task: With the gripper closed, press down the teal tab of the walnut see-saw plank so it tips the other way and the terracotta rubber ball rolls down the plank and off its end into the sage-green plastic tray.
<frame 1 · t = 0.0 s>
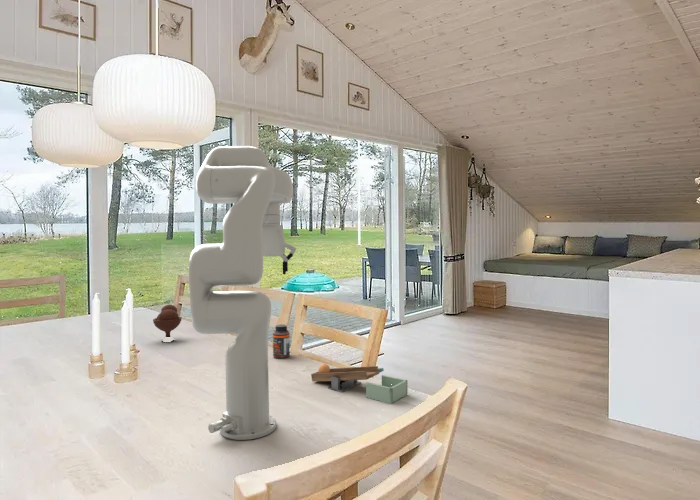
hand: (269, 274, 151), 31 cm above the table, tool pointing down, fingers open, 9 cm apart
ice cream bowl: (168, 341, 195), on the table
tray: (387, 396, 128), on the table
lever: (347, 372, 138), point 3 cm above the table, hinge at -12.0°, touching ball
fulcrum: (344, 385, 136), on the table
ball: (324, 369, 141), point 3 cm above the table, tilted 5°, touching lever
supplement bottle: (281, 357, 169), on the table
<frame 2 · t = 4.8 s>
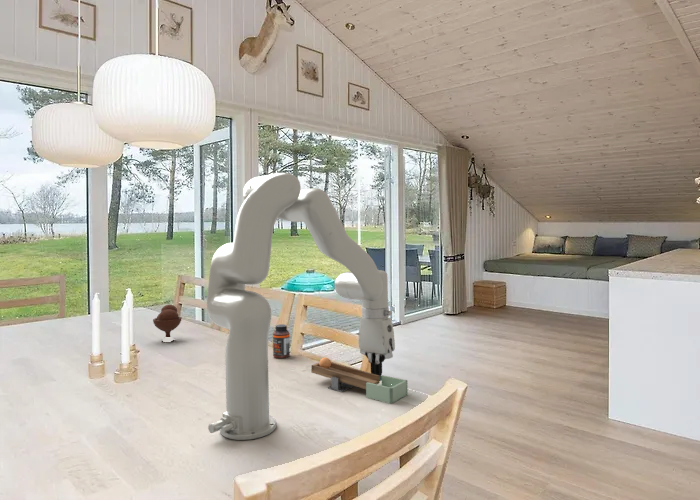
hand: (376, 375, 136), 3 cm above the table, tool pointing down, fingers closed
lever: (348, 372, 138), point 3 cm above the table, hinge at 3.5°, touching ball, gripper
ball: (325, 363, 141), point 5 cm above the table, tilted 12°, touching lever
everything else where it was.
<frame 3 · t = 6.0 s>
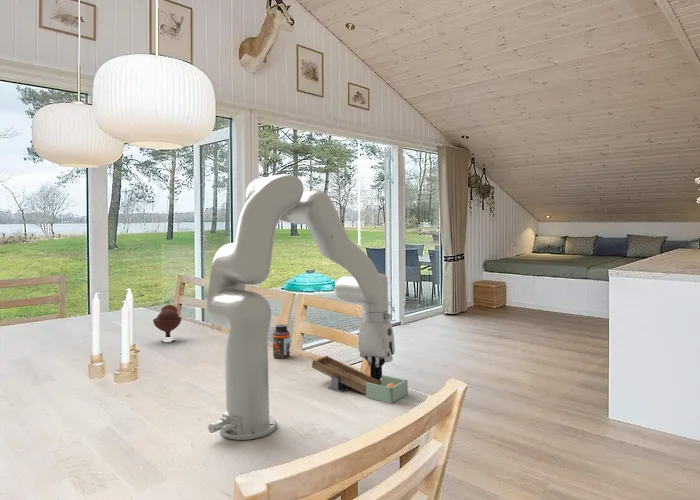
hand: (376, 379, 136), 2 cm above the table, tool pointing down, fingers closed
lever: (348, 372, 138), point 3 cm above the table, hinge at 12.2°, touching gripper
ball: (391, 389, 127), point 2 cm above the table, tilted 101°, touching tray
everything else where it was.
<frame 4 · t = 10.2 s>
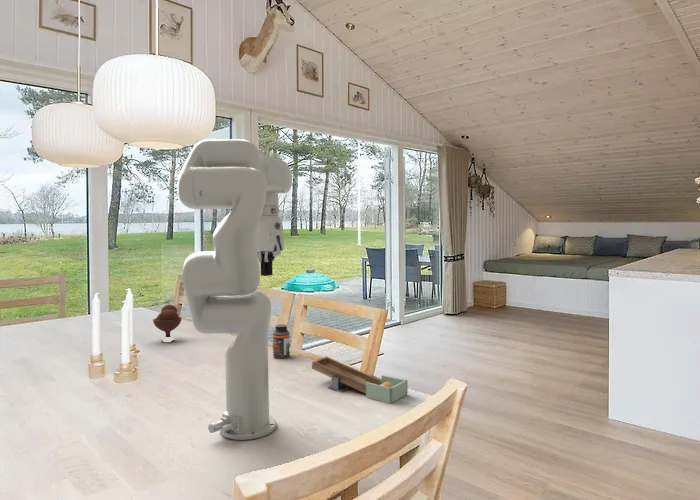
hand: (266, 275, 138), 32 cm above the table, tool pointing down, fingers closed
lever: (348, 372, 138), point 3 cm above the table, hinge at 10.5°
ball: (387, 388, 128), point 2 cm above the table, tilted 51°, touching tray
everything else where it was.
at the end: ball inside the target area (0.1 cm from its centre), point 2.0 cm above the table; lever at +10° (first picture: -12°) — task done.
